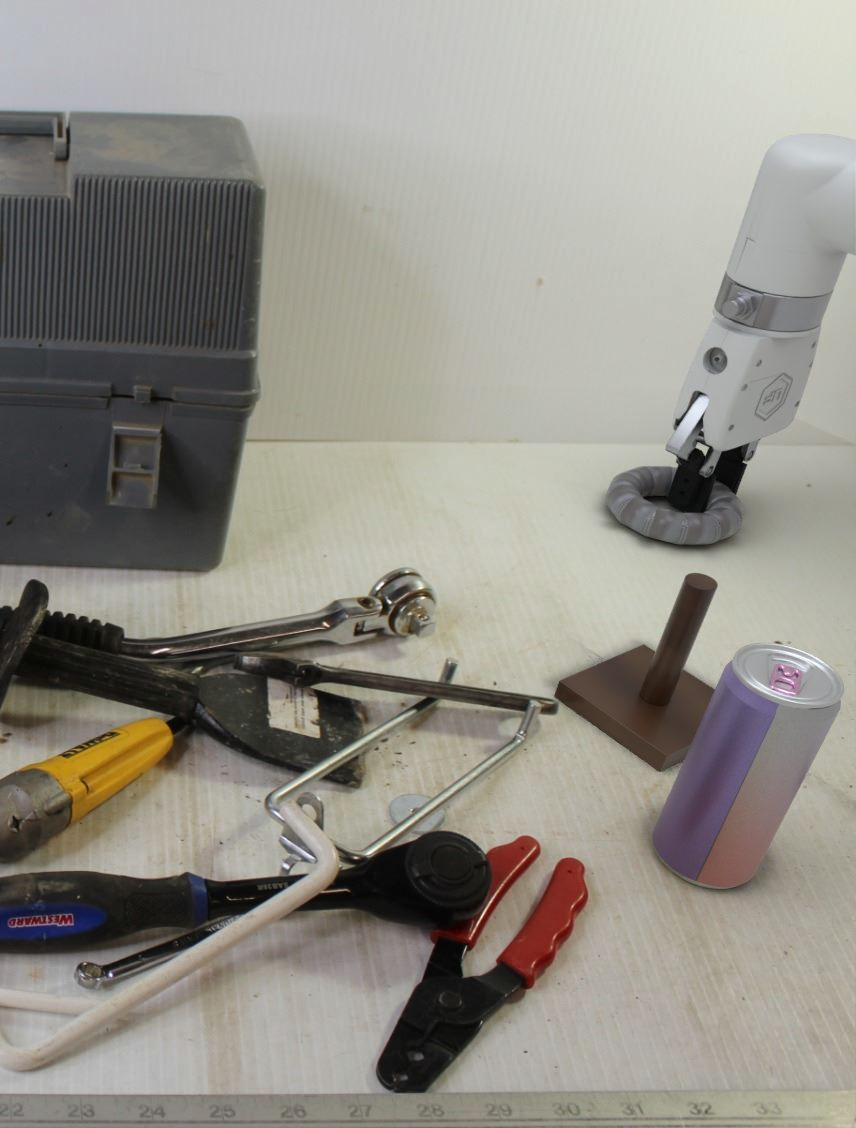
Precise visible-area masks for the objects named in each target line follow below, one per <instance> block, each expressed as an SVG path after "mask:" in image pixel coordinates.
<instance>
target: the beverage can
mask: <svg viewBox="0 0 856 1128" xmlns="http://www.w3.org/2000/svg"><path fill="white" fill-rule="evenodd" d="M714 689H715V691H714V693H713V695H712V698H711V700H710V702H709V704H708V707H707V709H706V711H705V714H704V716H703V718H702V720H701V723H700V725H699V727H698V729H697V732H696V734H695V736H694V739H693V741H692V743H691V745H690V748H689V750H688V752H687V755H686V757H685V759H684V760H682V764H681V765H680V768H679V770H678V772H677V775H676V777H675V780H674V781H673V784H672V786H671V789H670V791H669V794H668V795H667V798H666V800H665V803H664V804H663V807H662V809H661V811H660V814H659V816H658V818H657V821H656V822H655V825H654V827H653V829H652V834H651V838H652V840H651V841H652V844H653V847H654V850H655V853H656V855H657V856H658V858H659V860H660V862H662V864H663V865H664V866H665V867H666V868H667V870H669V871H670V872H672V873H673V874H674V875H675V876H677V877H679V878H680V879H682V880H684V881H685V882H688V883H690V884H693V885H695V886H698V887H702V888H706V889H711V890H726V889H732V888H735V887H739V886H742V885H744V884H746V883H747V882H749V881H751V880H752V879H753V878H754V876H755V875H756V873H757V871H758V869H759V867H760V865H761V863H762V861H763V859H764V857H765V856H766V854H767V852H768V850H769V848H770V846H771V844H772V842H773V840H774V838H775V836H776V834H777V832H778V830H779V828H780V827H781V824H782V823H783V821H784V819H785V817H786V815H787V813H788V811H789V809H790V807H791V806H792V804H793V801H794V799H795V797H796V796H797V794H798V792H799V789H800V788H801V786H802V784H803V782H804V780H805V779H806V776H807V774H808V772H809V770H810V769H811V766H812V764H813V763H814V761H815V759H816V757H817V755H818V753H819V752H820V749H821V748H822V746H823V743H824V741H825V739H826V738H827V736H828V733H830V730H831V728H832V726H833V724H834V722H835V720H836V718H837V716H838V714H839V712H840V710H841V707H842V706H841V705H842V698H843V696H844V693H845V684H844V681H843V679H842V677H841V676H840V674H839V673H838V672H837V670H835V669H834V668H833V667H832V666H831V665H830V664H828V663H827V662H826V661H824V660H823V659H821V658H819V657H817V656H816V655H814V654H812V653H810V652H808V651H805V650H803V649H799V648H798V647H797V648H796V647H793V646H790V645H786V644H780V643H774V642H773V643H772V642H756V643H750V644H747V645H744V646H742V647H741V648H739V649H738V650H737V651H736V652H735V653H734V655H733V657H732V659H731V660H730V661H729V662H728V663H727V664H726V665H725V667H724V668H723V670H722V673H721V675H720V677H719V680H718V681H717V684H716V687H715V688H714Z"/></svg>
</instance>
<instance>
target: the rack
mask: <svg viewBox="0 0 856 1128" xmlns="http://www.w3.org/2000/svg"><path fill="white" fill-rule="evenodd" d="M718 584H719V583H718V582H717V580H716V579H714V578H713V577H712V576H710V575H707V574H704V573H701V572H690V573H688V574H686V575H685V576H684V579H683V581H682V582H681V585H680V589H679V592H678V594H677V596H676V599H675V601H674V604H673V606H672V608H671V611H670V614H669V617H668V618H667V622H666V624H665V627H664V629H663V632H662V633H661V637H660V639H659V641H658V644H657V647H656V649H653V648H651V647H649V646H647V645H646V644H645V643H644V644H641V645H639V646H637V647H634V648H632V649H629V650H627V651H624V652H622V653H620V654H618V655H616V656H614V657H611V658H609V659H606V660H603V661H601V662H599V663H597V664H595V665H591V666H590V667H588V668H585V669H582V670H580V671H578V672H576V673H574V674H571V675H568V676H566V677H565V678H562V679H560V680H558V683H557V686H556V689H555V692H554V695H553V697H554V698H556V699H557V700H558V701H560V702H561V703H563V704H564V705H565V706H566V707H568V708H570V709H571V710H572V711H573V712H574V713H576V714H578V715H579V716H581V717H582V718H584V719H585V720H587V721H588V722H589V723H590V724H592V725H593V726H595V727H596V728H598V729H599V730H600V731H602V733H605V734H606V735H607V736H609V737H611V738H612V739H613V740H614V741H616V742H617V743H619V744H620V745H622V746H623V747H624V748H626V749H627V750H628V751H630V752H631V753H633V754H634V755H636V756H637V757H638V758H640V759H641V760H643V761H644V762H646V763H647V764H648V765H650V766H651V767H652V768H654V769H655V770H656V771H658V772H661V771H664V770H666V769H668V768H670V767H672V766H674V765H676V764H679V763H680V762H683V761H684V759H685V757H686V755H687V752H688V750H689V748H690V745H691V743H692V741H693V739H694V736H695V734H696V732H697V729H698V727H699V725H700V723H701V720H702V718H703V716H704V714H705V711H706V709H707V707H708V704H709V702H710V700H711V698H712V695H713V693H714V691H715V689H716V688H713V687H712V686H710V685H709V684H707V683H705V681H702V680H701V679H700V678H698V677H696V676H695V675H693V674H691V673H690V672H688V671H687V670H685V669H684V668H685V666H686V664H687V662H688V659H689V657H690V654H691V652H692V650H693V647H694V645H695V642H696V640H697V637H698V635H699V633H700V630H701V628H702V625H703V623H704V620H705V619H706V615H707V613H708V610H709V609H710V606H711V603H712V601H713V599H714V596H715V594H716V591H717V589H718V586H719V585H718Z"/></svg>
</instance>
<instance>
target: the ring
mask: <svg viewBox="0 0 856 1128" xmlns="http://www.w3.org/2000/svg"><path fill="white" fill-rule="evenodd" d="M676 470H677V467H675V466H670V465H640V466H637V467H634V468H632V469H629V470H626V471H622V472H620V473H618V474H617V475H615V476H614V477H613V478H612V480H611V481H610V484H609V486H608V488H607V490H606V493H605V504H606V506H607V507H608V509H609V510H610V511H611V513H612V514H613V515H614V517H615V518H616V519H617V521H618V522H619V523H620V524H622V525H623V526H626V527H627V528H629V529H631V530H633V531H635V532H636V533H638V534H640V535H642V536H644V537H646V538H651V539H653V540H657V541H663V542H666V543H670V544H675V545H711V544H714V543H717V542H720V541H722V540H725V539H727V538H729V537H732V536H733V535H735V534H737V532H738V531H739V530H740V528H741V525H742V521H743V519H744V518H743V517H744V514H745V508H744V504H743V503H742V501H741V500H740V498H738V497H737V494H736V495H735V494H734V493H733V492H732V491H731V490H730V489H729V488H728V487H727V486H726V485H724V484H722V483H720V482H718V481H716V480H715V483H714V486H713V488H712V491H711V494H710V497H709V499H708V502H707V505H706V508H705V511H704V513H687V512H682V511H677V510H674V509H669V508H665V507H661V506H659V505H657V504H655V503H654V502H651V501H650V500H647V499H646V498H644V497H666V498H667V496H668V493H669V490H670V487H671V485H672V482H673V479H674V476H675V473H676Z"/></svg>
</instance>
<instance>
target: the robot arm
mask: <svg viewBox="0 0 856 1128" xmlns="http://www.w3.org/2000/svg"><path fill="white" fill-rule="evenodd" d="M753 184H754V185H753V187H752V190H751V193H750V197H749V199H748V202H747V206H746V208H745V211H744V215H743V218H742V220H741V224H740V226H739V229H738V232H737V236H736V238H735V242H734V245H733V248H732V251H731V254H730V256H729V260H728V262H727V266H726V269H725V271H724V274H723V277H722V280H721V283H720V287H719V289H718V293H717V296H716V299H715V301H714V305H713V307H712V315H713V316H714V317H713V318H712V319H711V321H710V323H709V325H708V327H707V329H706V331H705V333H704V335H703V337H702V339H701V341H700V343H699V345H698V348H697V350H696V352H695V354H694V357H693V359H692V361H691V363H690V366H689V369H688V370H687V374H686V376H685V379H684V381H683V384H682V386H681V390H680V392H679V394H678V398H677V401H676V404H675V408H674V411H673V416H672V421H671V425H672V429H673V431H674V432H673V434H672V435H671V437H670V438H669V440H668V442H667V443H666V445H665V447H664V450H665V451H666V452H668V453H671V454H673V456H675V457H676V459H675V463H676V464H677V467H676V468H677V470H676V473H675V476H674V479H673V482H672V485H671V487H670V490H669V493H668V496H667V497H666V502H667V504H669V505H671V506H673V507H675V508H677V509H679V510H680V511H683V512H684V513H704V511H705V508H706V505H707V502H708V499H709V497H710V494H711V491H712V488H713V486H714V483H715V480H716V481H718V482H720V483H722V484H724V485H726V486H727V487H728V488H729V489H730V490H731V491H732V492H733V493H734V494H735V495H736V496H737V493H738V490H739V488H740V485H741V482H742V480H743V478H744V474H745V472H746V469H747V466H748V463H749V462H750V461H751V460H753V458H754V456H755V454H756V451H757V448H758V445H759V442H760V441H761V439H763V438H766V437H768V436H771V435H773V434H777V433H779V432H781V431H783V430H785V429H787V427H789V426H790V425H791V424H792V423H793V422H794V420H795V418H796V415H797V412H798V409H799V407H800V404H801V401H802V399H803V395H804V392H805V390H806V387H807V383H808V381H809V377H810V373H811V370H812V367H813V364H814V360H815V356H816V352H817V349H818V345H819V342H820V341H819V340H820V335H821V330H822V321H823V319H824V317H825V314H826V311H827V309H828V306H829V303H830V301H831V298H832V296H833V293H834V290H835V287H836V285H837V282H838V279H839V277H840V274H841V272H842V269H843V266H844V264H845V262H846V258H847V256H848V254H849V255H852V256H856V139H853V138H850V137H847V136H841V135H836V134H828V133H812V132H811V133H798V134H791V135H787V136H784V137H782V138H780V139H777V140H776V141H775V142H774V143H773V144H772V145H770V146H769V148H768V149H767V150H766V152H765V153H764V156H763V159H762V161H761V163H760V166H759V170H758V173H757V175H756V178H755V181H754V183H753ZM698 443H699V444H700V445H703V446H705V447H707V452H706V453H704V451H703V450H702V449H700V448H698V447H697V445H698Z"/></svg>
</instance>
